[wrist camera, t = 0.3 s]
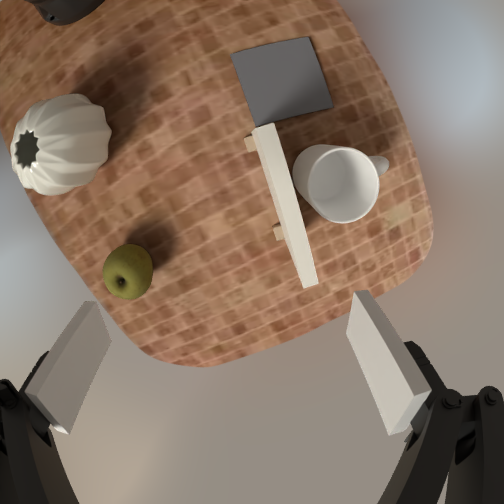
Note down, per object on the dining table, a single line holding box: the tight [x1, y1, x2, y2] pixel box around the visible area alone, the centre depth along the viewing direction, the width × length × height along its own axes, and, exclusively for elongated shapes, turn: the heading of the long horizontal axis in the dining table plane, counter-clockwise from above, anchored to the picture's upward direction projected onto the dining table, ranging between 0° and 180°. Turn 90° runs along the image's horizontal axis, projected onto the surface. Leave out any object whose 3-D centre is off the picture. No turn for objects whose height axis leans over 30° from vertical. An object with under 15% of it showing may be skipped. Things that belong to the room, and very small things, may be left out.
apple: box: [103, 244, 153, 299], centre depth 38 cm, size 8×8×7 cm
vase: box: [11, 94, 112, 195], centre depth 27 cm, size 14×14×13 cm
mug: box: [292, 144, 389, 223], centre depth 32 cm, size 12×8×10 cm
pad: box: [230, 37, 334, 127], centre depth 31 cm, size 11×11×1 cm
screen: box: [244, 123, 319, 288], centre depth 31 cm, size 16×4×14 cm, turn 18°
